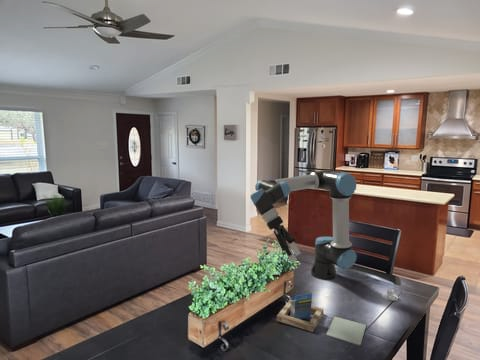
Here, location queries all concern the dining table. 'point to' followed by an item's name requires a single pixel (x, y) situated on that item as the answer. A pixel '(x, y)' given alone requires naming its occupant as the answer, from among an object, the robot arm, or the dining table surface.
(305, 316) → the label tape box
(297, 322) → the oak socket frame
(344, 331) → the sage board
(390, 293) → the teacup and saucer
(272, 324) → the dining table surface
